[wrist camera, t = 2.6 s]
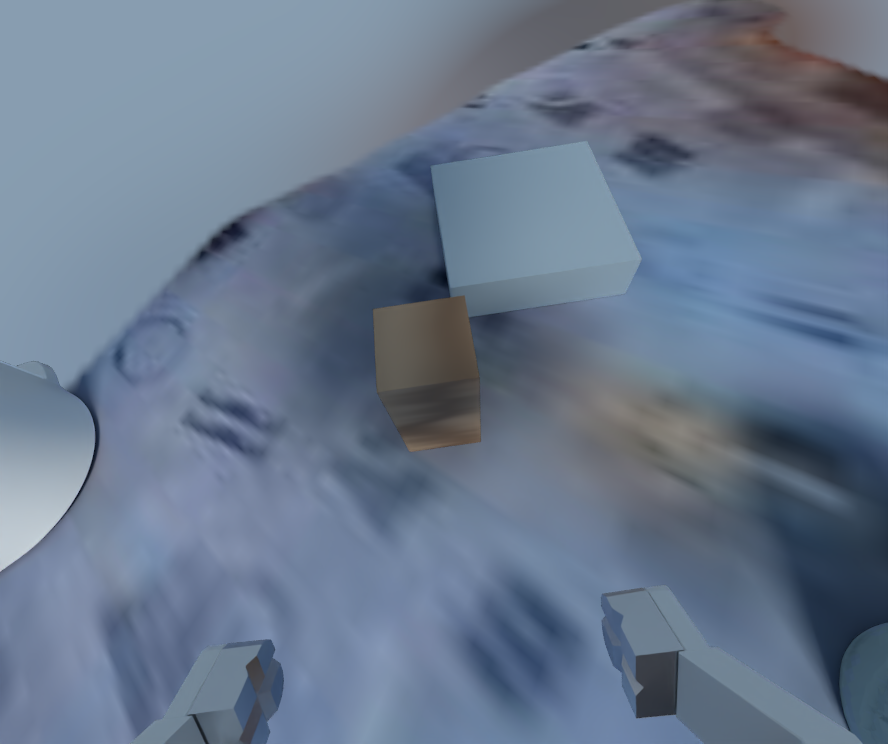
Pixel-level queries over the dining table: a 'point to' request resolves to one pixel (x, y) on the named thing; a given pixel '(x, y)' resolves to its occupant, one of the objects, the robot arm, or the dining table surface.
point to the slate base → (531, 230)
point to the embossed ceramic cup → (866, 685)
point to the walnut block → (428, 372)
